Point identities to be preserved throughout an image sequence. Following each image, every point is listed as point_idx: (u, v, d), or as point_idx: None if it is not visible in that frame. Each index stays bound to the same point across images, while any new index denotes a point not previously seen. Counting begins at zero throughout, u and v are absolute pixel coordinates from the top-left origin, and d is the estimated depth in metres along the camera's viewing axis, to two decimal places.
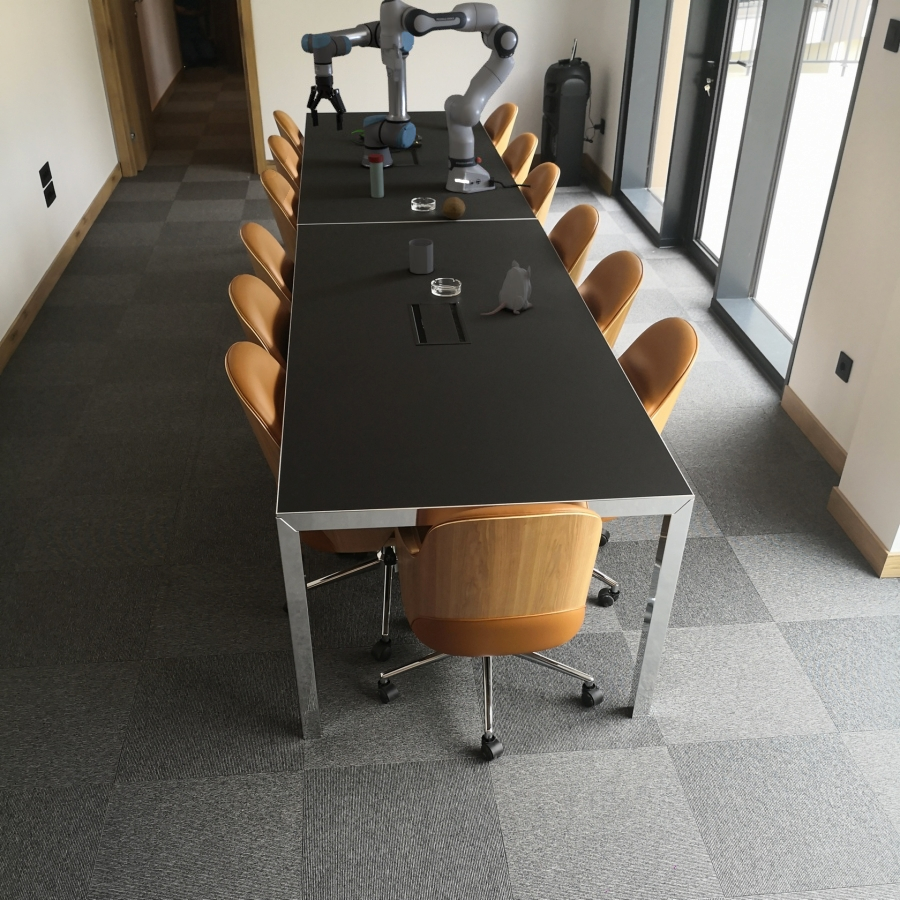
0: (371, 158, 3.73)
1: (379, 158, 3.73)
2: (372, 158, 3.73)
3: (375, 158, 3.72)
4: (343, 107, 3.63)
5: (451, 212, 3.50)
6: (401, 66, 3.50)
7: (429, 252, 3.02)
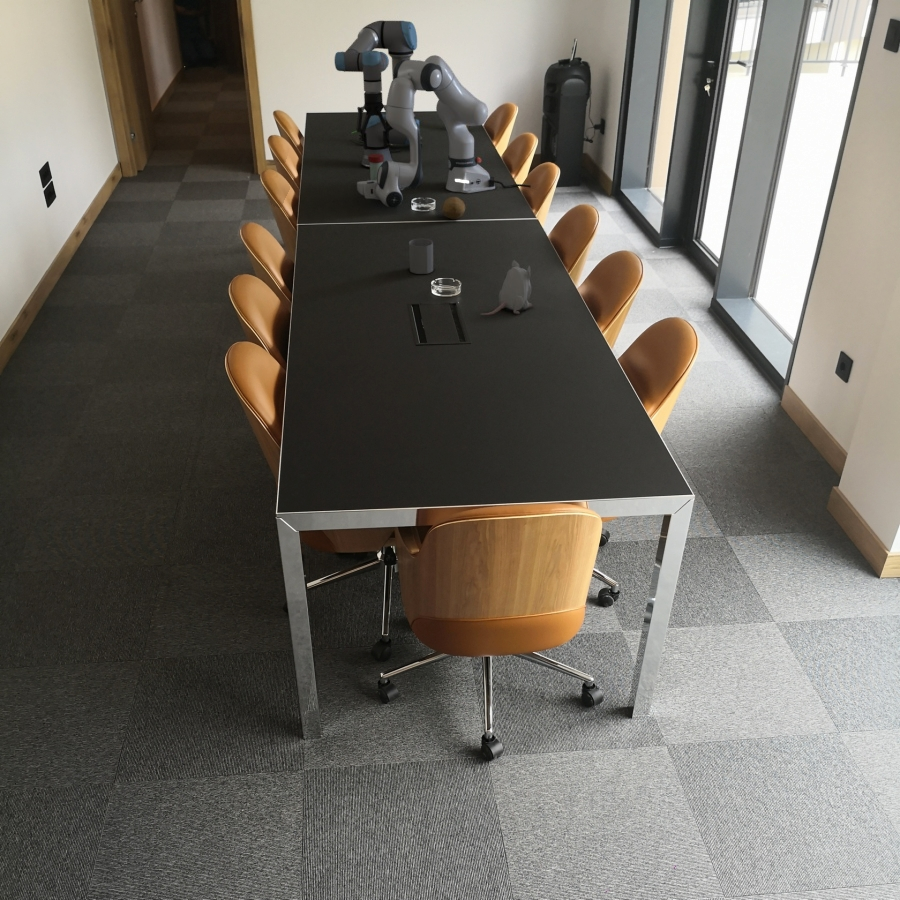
0: (371, 158, 3.73)
1: (379, 158, 3.73)
2: (372, 158, 3.73)
3: (375, 158, 3.72)
4: (357, 126, 3.66)
5: (451, 212, 3.50)
6: None
7: (429, 252, 3.02)
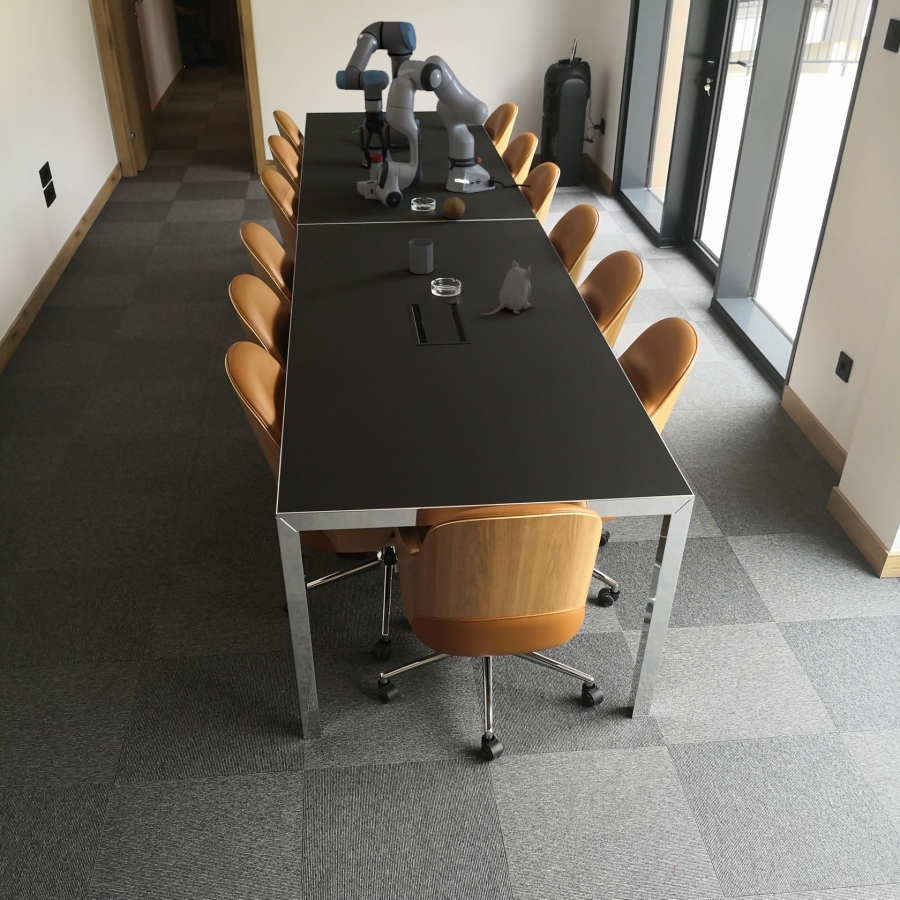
0: (371, 158, 3.73)
1: (379, 158, 3.73)
2: (372, 158, 3.73)
3: (375, 158, 3.72)
4: (360, 145, 3.70)
5: (451, 212, 3.50)
6: None
7: (429, 252, 3.02)
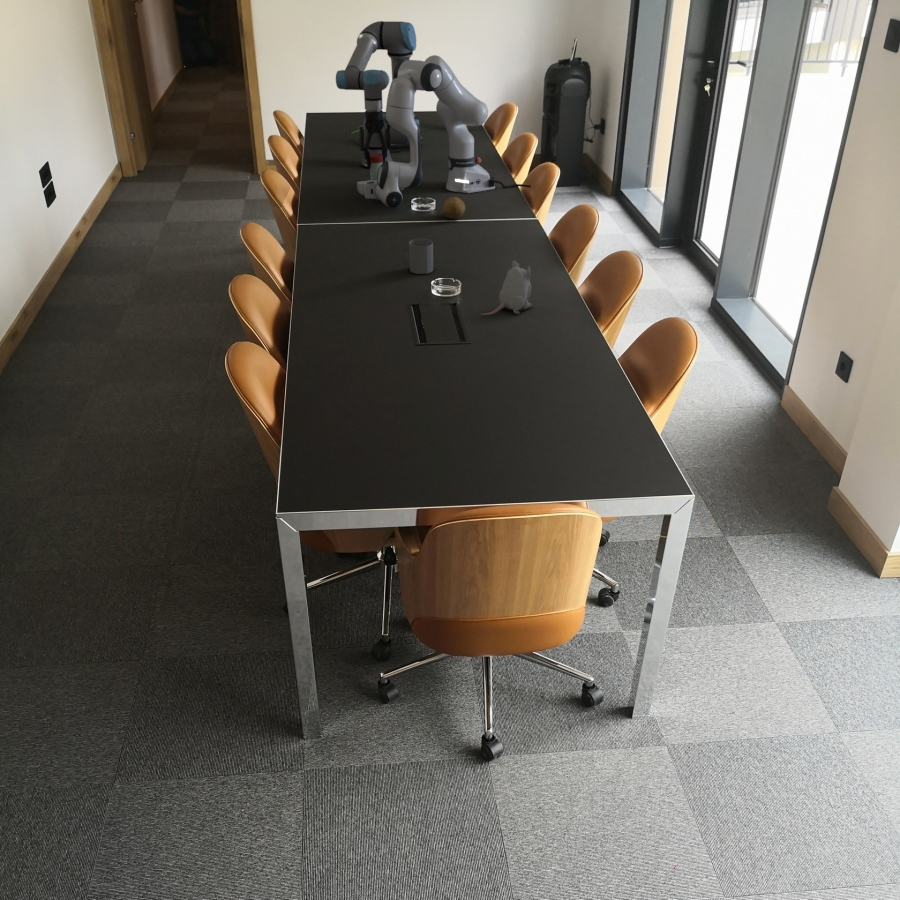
0: (381, 157, 3.74)
1: None
2: (382, 157, 3.74)
3: None
4: (360, 145, 3.70)
5: (451, 212, 3.50)
6: None
7: (429, 252, 3.02)
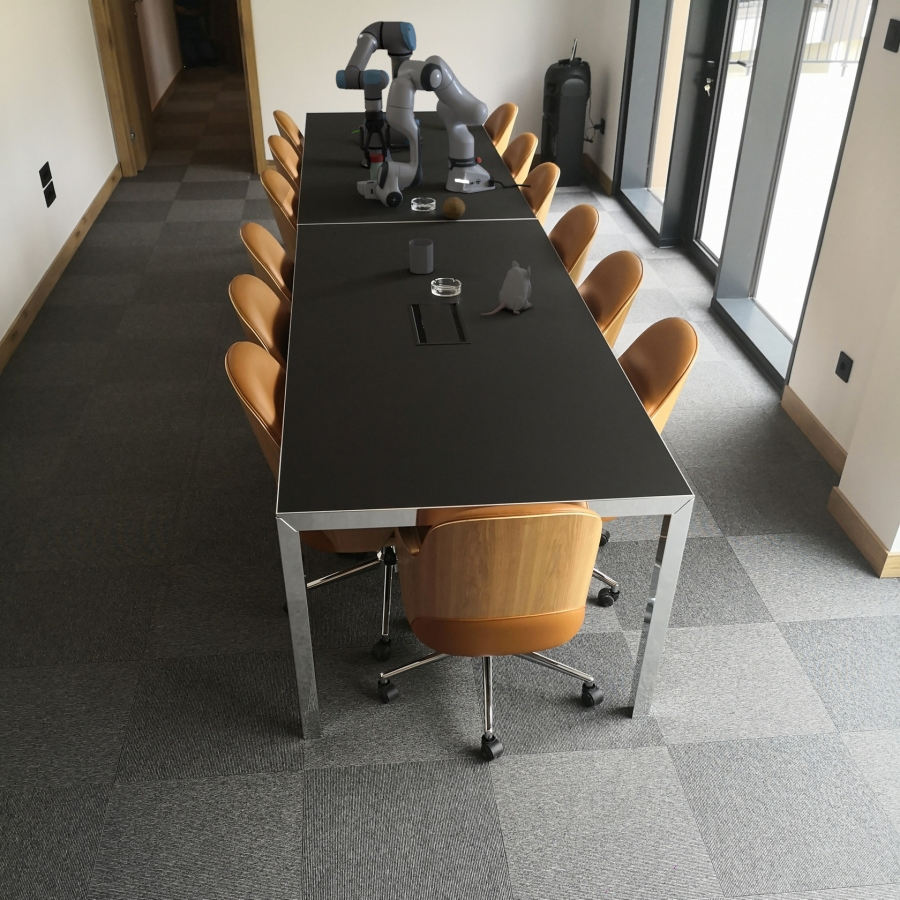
0: None
1: None
2: None
3: None
4: (360, 145, 3.70)
5: (451, 212, 3.50)
6: None
7: (429, 252, 3.02)
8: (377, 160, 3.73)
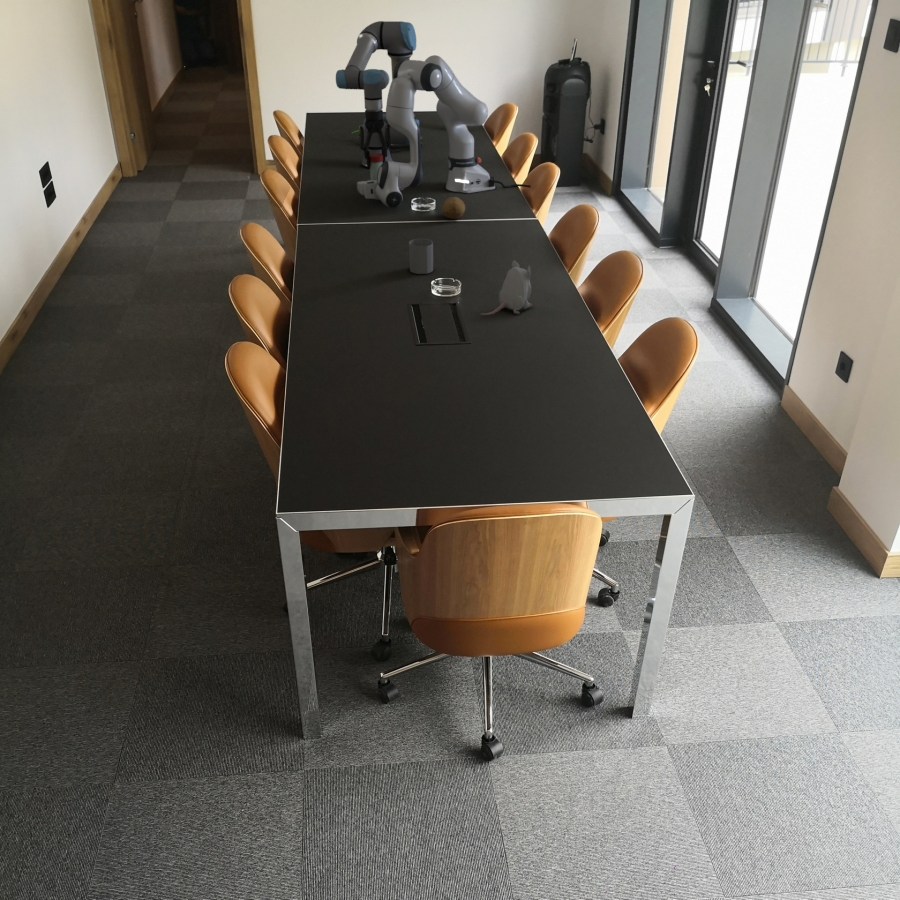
0: None
1: (370, 157, 3.73)
2: None
3: None
4: (360, 144, 3.70)
5: (451, 212, 3.50)
6: None
7: (429, 252, 3.02)
8: None
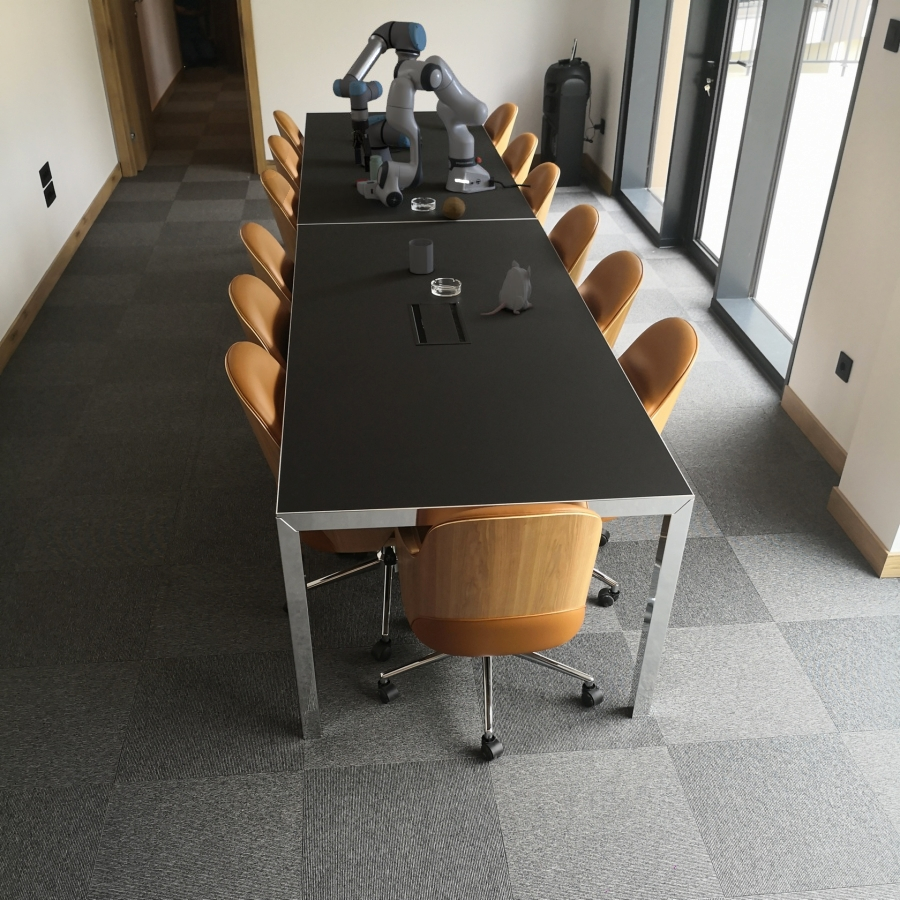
0: None
1: None
2: None
3: None
4: (369, 151, 3.81)
5: (451, 212, 3.50)
6: None
7: (429, 252, 3.02)
8: None
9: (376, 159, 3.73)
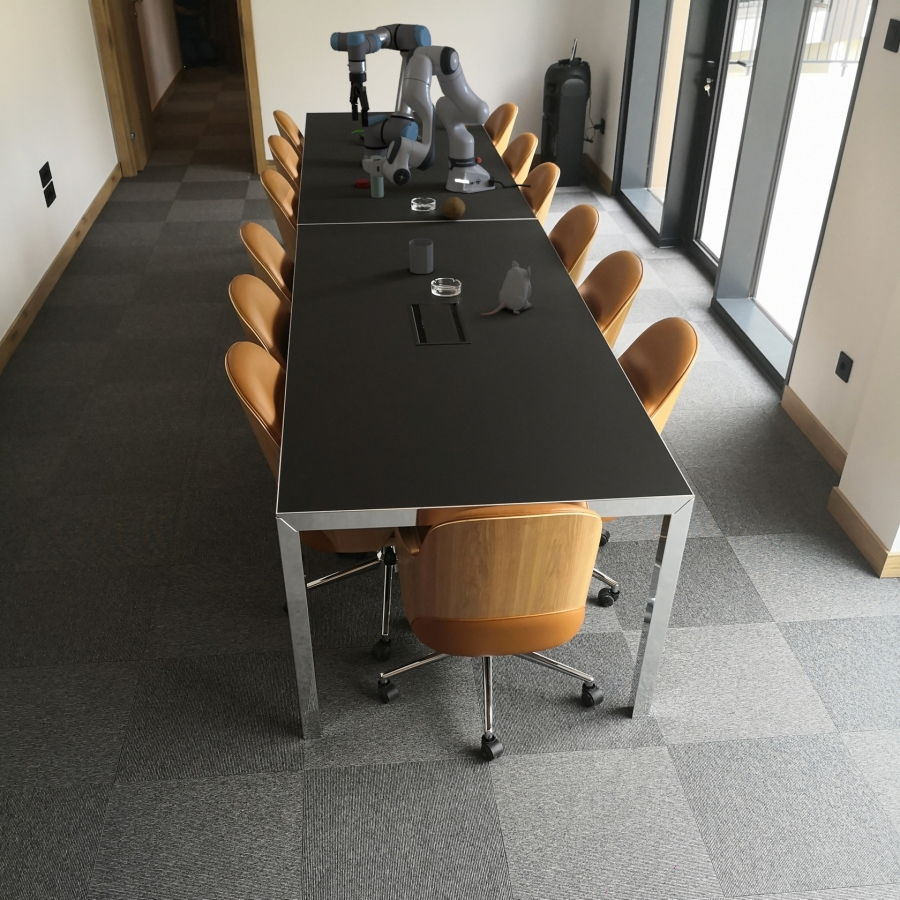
0: (359, 183, 3.94)
1: (367, 183, 3.95)
2: (360, 183, 3.94)
3: (363, 183, 3.94)
4: (366, 105, 3.71)
5: (451, 212, 3.50)
6: None
7: (429, 252, 3.02)
8: None
9: None
